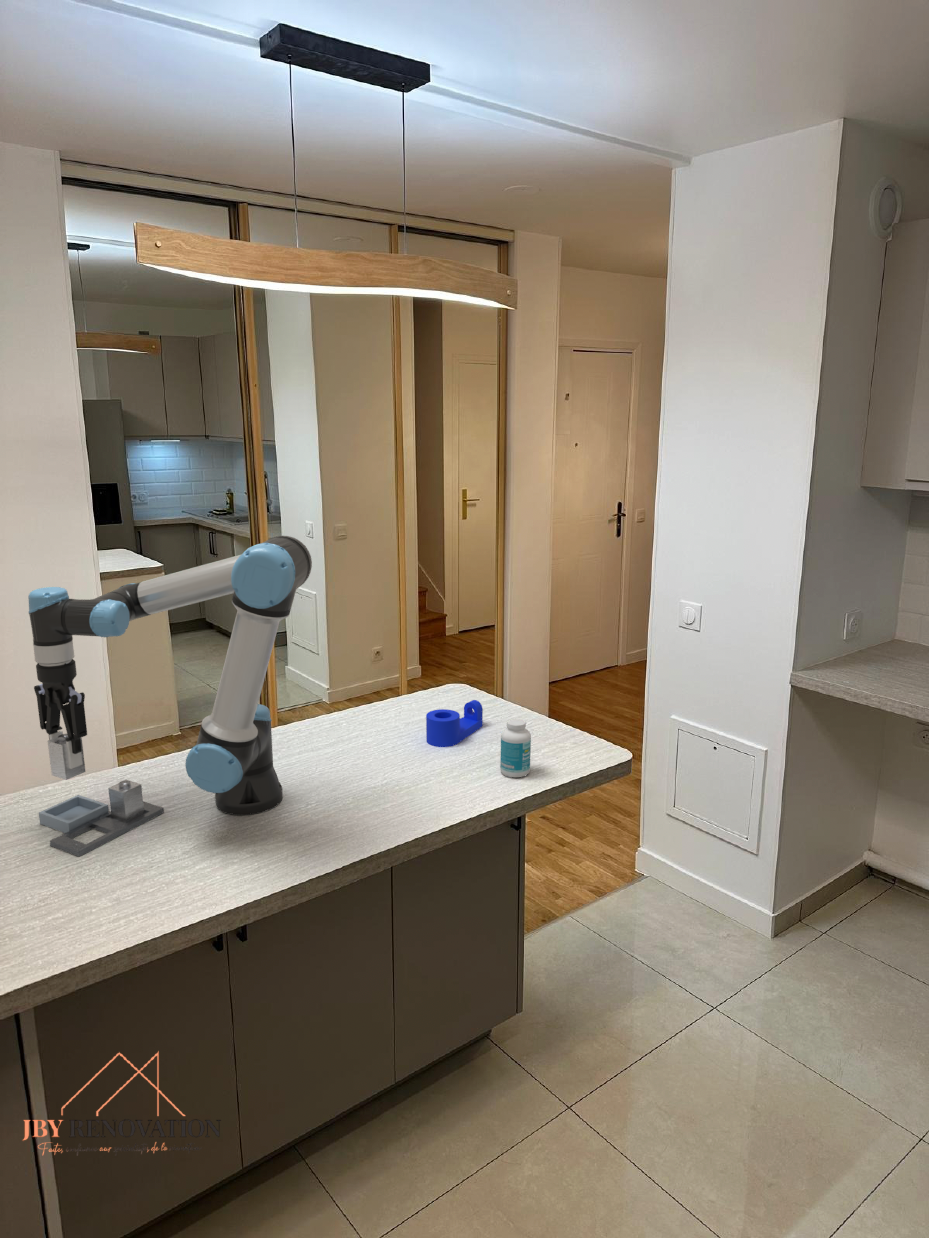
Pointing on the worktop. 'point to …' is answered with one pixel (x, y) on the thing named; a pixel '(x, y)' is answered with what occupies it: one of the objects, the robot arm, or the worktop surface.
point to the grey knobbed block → (126, 801)
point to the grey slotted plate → (103, 825)
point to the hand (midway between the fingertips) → (67, 763)
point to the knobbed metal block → (63, 758)
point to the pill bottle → (515, 749)
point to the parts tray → (72, 813)
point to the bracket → (453, 724)
